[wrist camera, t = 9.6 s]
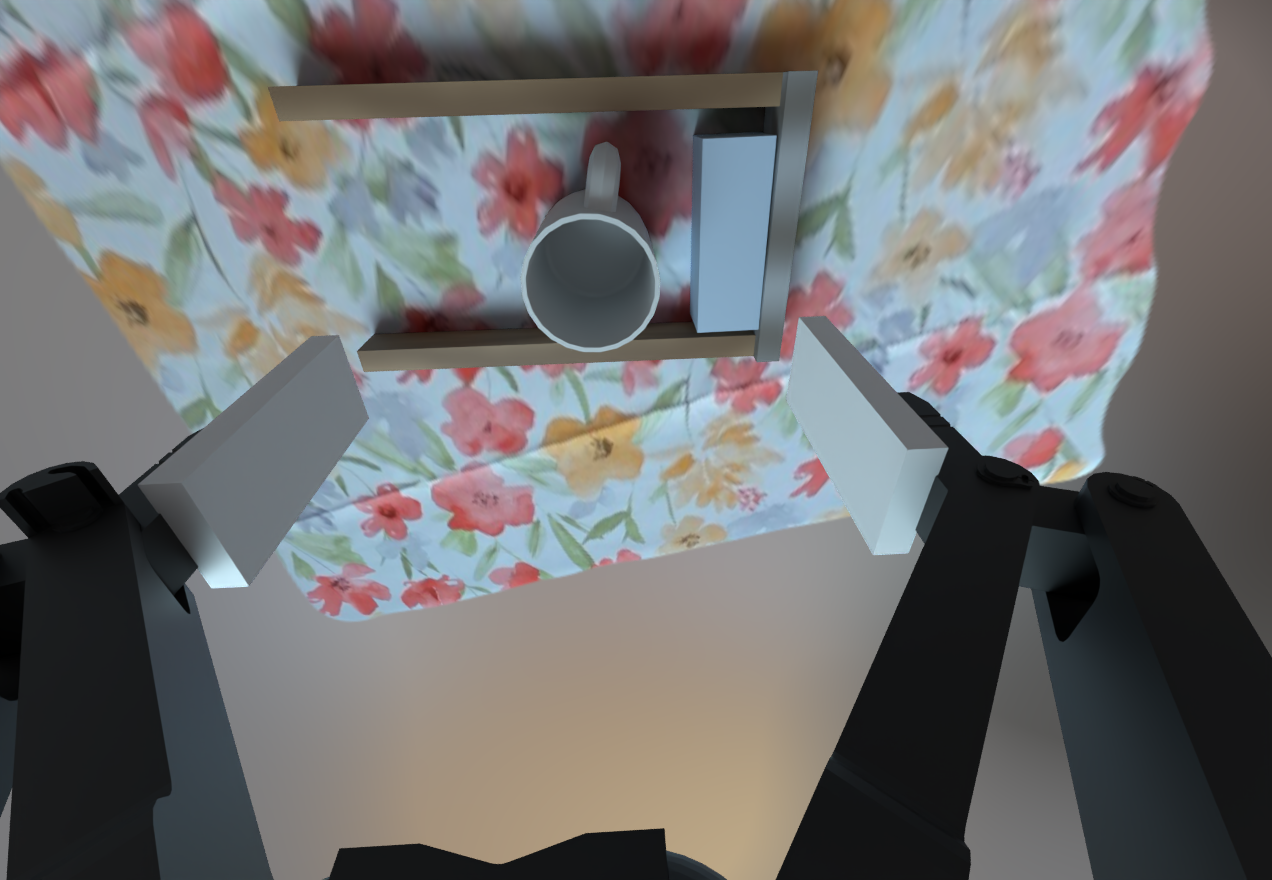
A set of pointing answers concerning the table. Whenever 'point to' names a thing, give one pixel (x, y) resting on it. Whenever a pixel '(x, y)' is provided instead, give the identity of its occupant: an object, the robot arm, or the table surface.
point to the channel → (777, 92)
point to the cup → (592, 265)
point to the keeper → (729, 228)
